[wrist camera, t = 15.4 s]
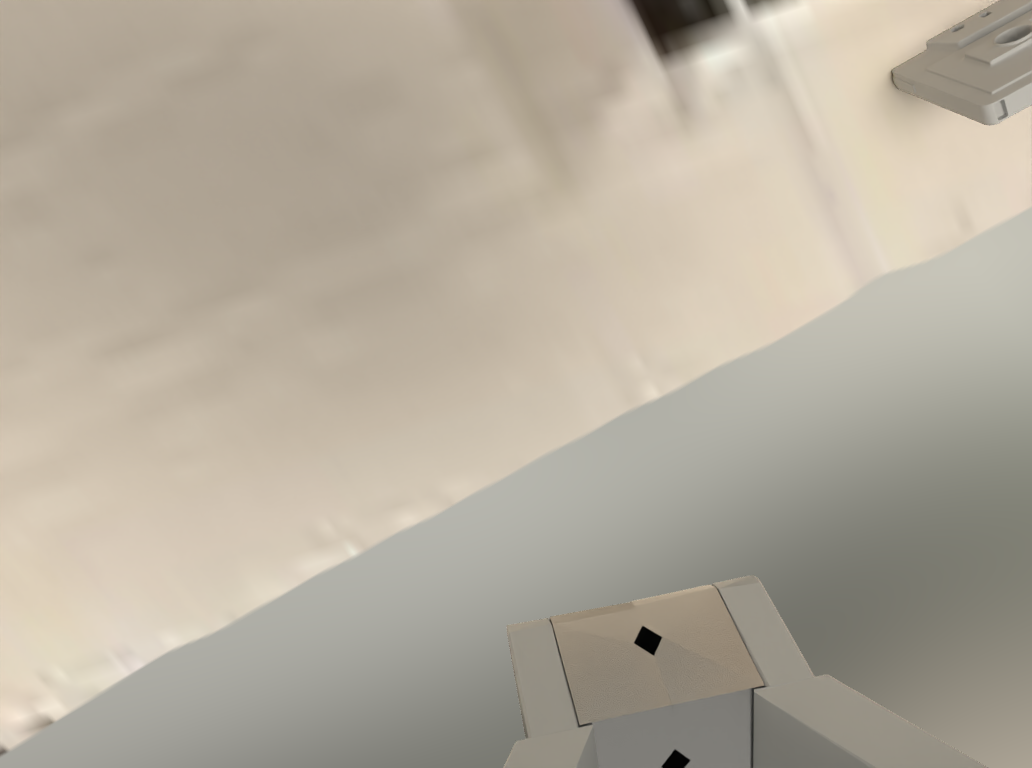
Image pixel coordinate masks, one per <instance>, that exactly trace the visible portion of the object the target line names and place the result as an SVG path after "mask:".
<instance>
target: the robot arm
mask: <svg viewBox="0 0 1032 768" xmlns="http://www.w3.org/2000/svg"><path fill="white" fill-rule="evenodd" d="M507 636H508V642H509V647H510V653H511V659H512V664H513V670H514V676H515V681H516V687H517V693H518V698H519V704H520V710H521V715H522V721H523V727H524V732H525V737H526V739H523V740H519V741H516V742H515V745H514V746H513V749H512V751H511V753H510V755H509V757H508V759H507V761H506V763H505V765H504V768H988V767H986V766H984V765H982V764H981V763H979V762H978V761H976V760H974V759H972V758H971V757H969V756H967V755H965V754H964V753H962V752H960V751H959V750H957V749H955V748H953V747H952V746H950V745H948V744H947V743H945V742H943V741H941V740H939V739H938V738H936V737H934V736H933V735H931V734H929V733H928V732H926V731H924V730H922V729H921V728H919V727H917V726H916V725H914V724H912V723H910V722H909V721H907V720H905V719H903V718H902V717H900V716H898V715H897V714H895V713H893V712H891V711H889V710H888V709H886V708H884V707H883V706H881V705H879V704H878V703H876V702H874V701H872V700H871V699H869V698H867V697H866V696H864V695H862V694H860V693H859V692H857V691H855V690H853V689H852V688H850V687H848V686H846V685H845V684H843V683H841V682H840V681H838V680H836V679H834V678H833V677H831V676H829V675H821V676H816V677H815V676H814V674H813V673H812V671H811V669H810V667H809V666H808V664H807V662H806V661H805V659H804V657H803V655H802V653H801V652H800V650H799V648H798V646H797V644H796V643H795V641H794V639H793V637H792V636H791V634H790V632H789V630H788V629H787V627H786V625H785V623H784V622H783V620H782V618H781V616H780V615H779V613H778V611H777V609H776V608H775V606H774V604H773V602H772V601H771V599H770V597H769V595H768V593H767V592H766V590H765V588H764V587H763V585H762V583H761V581H760V580H759V579H758V578H757V577H755V576H754V575H750V576H745V577H741V578H736V579H732V580H727V581H722V582H718V583H714V584H712V585H705V586H700V587H695V588H691V589H687V590H682V591H677V592H672V593H668V594H663V595H658V596H654V597H649V598H645V599H640V600H635V601H631V602H629V603H623V604H618V605H612V606H607V607H601V608H595V609H590V610H584V611H579V612H573V613H568V614H562V615H557V616H551V617H550V620H549V619H548V618H546V619H541V620H534V621H529V622H524V623H517V624H512V625H507Z"/></svg>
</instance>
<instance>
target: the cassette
mask: <svg viewBox="0 0 1032 768" xmlns="http://www.w3.org/2000/svg"><path fill="white" fill-rule="evenodd" d="M892 73H893V76H894V77H893V80H894V84H895V85H896V86H897V88H898V89H899V90H902V91H904V92H907V93H909V94H912V95H914V96H916V97H919V98H921V99H924V100H926V101H929V102H931V103H933V104H936V105H938V106H941V107H943V108H945V109H948V110H950V111H953V112H955V113H958V114H960V115H962V116H965V117H967V118H970V119H972V120H975V121H977V122H979V123H982V124H984V125H995V124H998V123H1000V122H1001V121H1003V120H1005V119H1007V118H1009V117H1010V116H1012V115H1014V114H1016V113H1018V112H1020V111H1021V110H1023V109H1025V108H1027V107H1029V106H1031V105H1032V0H1000V1H998V2H996V3H994V4H992V5H991V6H989V7H987V8H985V9H984V10H982V11H980V12H978V13H976V14H975V15H973V16H971V17H969V18H967V19H966V20H964V21H962V22H960V23H958V24H957V25H955V26H953V27H951V28H950V29H948V30H946V31H944V32H942V33H941V34H939V35H937V36H935V37H933V38H932V39H930V40H928V41H927V49H926V50H925V51H924V52H922V53H920V54H919V55H917V56H915V57H913V58H911V59H910V60H908V61H906V62H904V63H903V64H901V65H899V66H897V67H895V68H894V69H893V70H892Z"/></svg>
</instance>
